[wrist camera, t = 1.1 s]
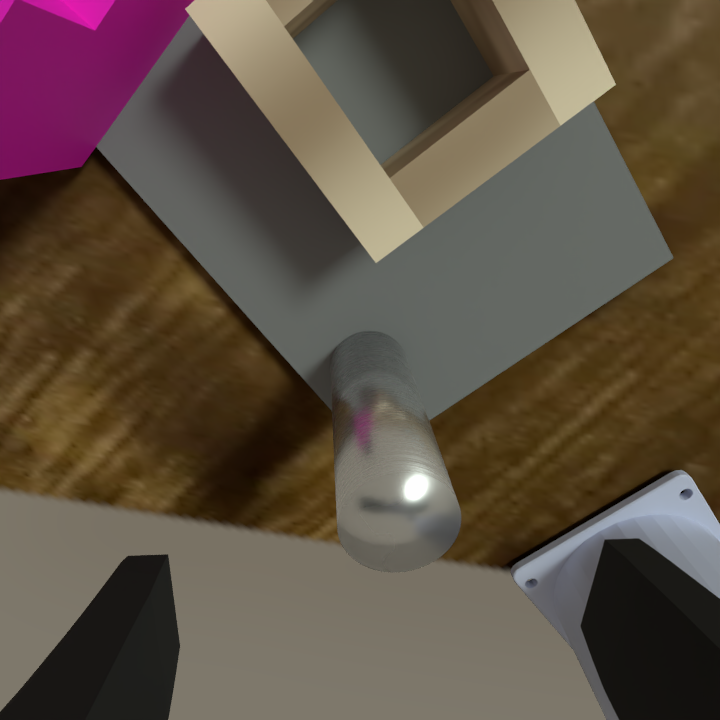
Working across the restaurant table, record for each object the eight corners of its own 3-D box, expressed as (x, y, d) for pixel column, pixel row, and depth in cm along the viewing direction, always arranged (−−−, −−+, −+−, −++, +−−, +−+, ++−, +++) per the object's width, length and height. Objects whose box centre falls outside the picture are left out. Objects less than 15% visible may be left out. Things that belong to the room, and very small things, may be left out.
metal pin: (422, 372, 20) (484, 530, 12) (360, 414, 20) (385, 590, 13) (377, 315, 19) (415, 449, 11) (314, 361, 19) (311, 517, 12)
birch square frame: (565, 88, 16) (615, 84, 13) (366, 239, 18) (375, 263, 15) (428, -172, 14) (456, -242, 11) (209, 27, 15) (184, 9, 12)
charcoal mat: (665, 254, 19) (673, 257, 18) (372, 450, 21) (373, 457, 21) (430, -200, 14) (434, -210, 13) (80, 121, 16) (73, 121, 16)
